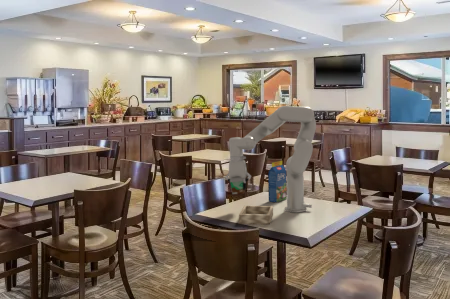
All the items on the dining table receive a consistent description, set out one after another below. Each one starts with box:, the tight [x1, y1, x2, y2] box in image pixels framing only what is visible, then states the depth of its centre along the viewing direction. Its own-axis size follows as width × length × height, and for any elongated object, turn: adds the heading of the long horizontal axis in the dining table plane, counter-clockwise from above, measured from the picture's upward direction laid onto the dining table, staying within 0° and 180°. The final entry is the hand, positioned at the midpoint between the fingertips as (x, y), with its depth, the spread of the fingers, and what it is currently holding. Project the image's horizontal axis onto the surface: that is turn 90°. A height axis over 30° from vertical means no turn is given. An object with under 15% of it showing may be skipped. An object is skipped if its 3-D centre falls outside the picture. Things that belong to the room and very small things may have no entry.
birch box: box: [238, 205, 274, 226], centre depth 234 cm, size 16×20×5 cm
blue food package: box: [267, 160, 287, 203], centre depth 277 cm, size 6×12×25 cm, turn 140°
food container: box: [229, 177, 246, 196], centre depth 250 cm, size 12×6×10 cm, turn 150°
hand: (238, 189), depth 251 cm, fingers closed on food container, 5 cm apart
